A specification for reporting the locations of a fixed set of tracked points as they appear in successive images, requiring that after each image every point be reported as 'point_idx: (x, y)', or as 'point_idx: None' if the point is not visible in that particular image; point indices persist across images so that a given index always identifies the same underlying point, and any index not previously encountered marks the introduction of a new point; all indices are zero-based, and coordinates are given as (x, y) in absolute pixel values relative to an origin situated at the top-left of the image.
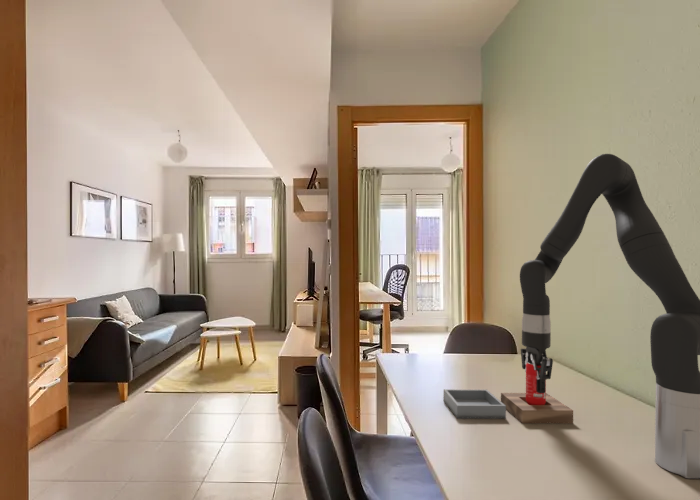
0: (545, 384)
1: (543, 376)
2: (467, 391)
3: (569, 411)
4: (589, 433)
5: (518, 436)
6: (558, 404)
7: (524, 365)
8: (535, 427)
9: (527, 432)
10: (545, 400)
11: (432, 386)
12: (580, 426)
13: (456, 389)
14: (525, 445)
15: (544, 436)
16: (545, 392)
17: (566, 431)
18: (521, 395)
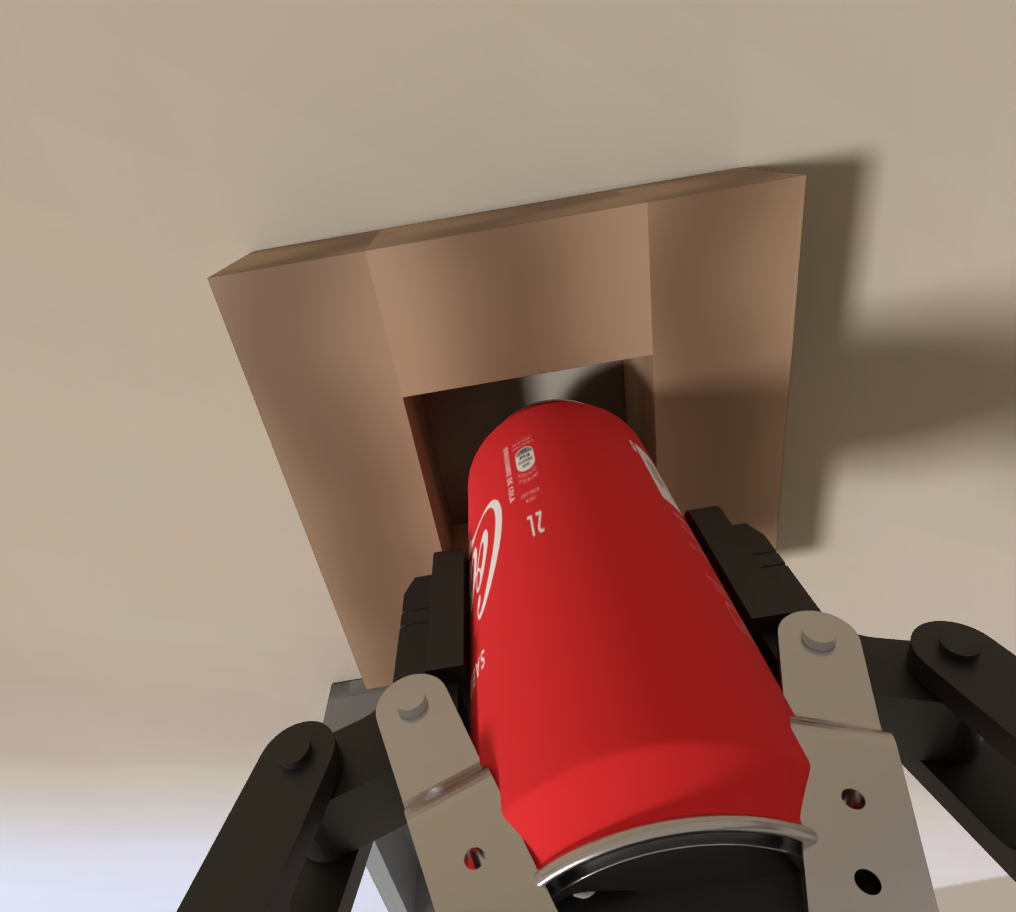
0: (675, 528)
1: (985, 744)
2: (381, 843)
3: (798, 222)
4: (960, 106)
5: (905, 613)
6: (621, 278)
7: (363, 867)
8: (796, 497)
9: (863, 560)
10: (617, 424)
11: (150, 900)
12: (808, 120)
13: (382, 894)
14: (1013, 604)
15: (935, 483)
16: (641, 469)
17: (888, 304)
18: (398, 558)
